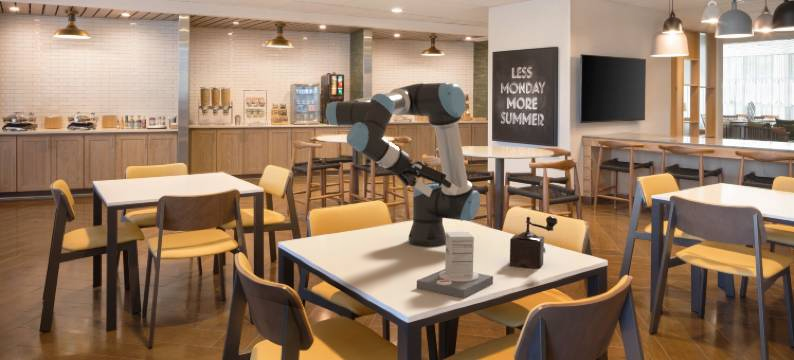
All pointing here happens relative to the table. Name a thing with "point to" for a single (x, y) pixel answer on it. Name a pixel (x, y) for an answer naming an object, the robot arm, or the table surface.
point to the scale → (454, 284)
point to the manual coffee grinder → (529, 246)
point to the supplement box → (459, 254)
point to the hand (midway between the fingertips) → (443, 192)
